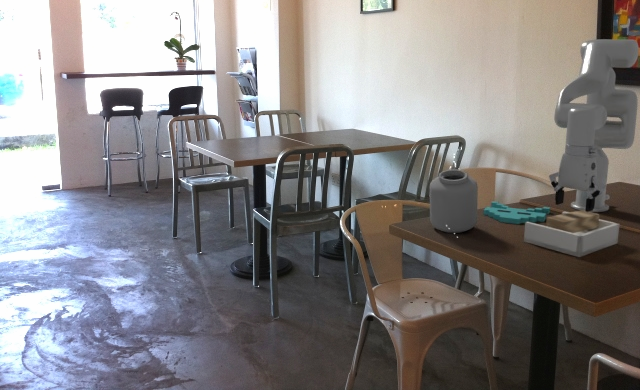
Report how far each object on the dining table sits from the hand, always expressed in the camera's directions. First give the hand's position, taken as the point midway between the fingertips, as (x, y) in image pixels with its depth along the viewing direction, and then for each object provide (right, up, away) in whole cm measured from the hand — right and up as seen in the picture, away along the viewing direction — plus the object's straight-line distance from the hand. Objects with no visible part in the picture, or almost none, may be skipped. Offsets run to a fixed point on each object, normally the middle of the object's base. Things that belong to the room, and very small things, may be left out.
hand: (573, 207), depth 187 cm
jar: (-33, -8, +15) cm, 37 cm away
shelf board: (0, -6, +1) cm, 6 cm away
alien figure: (-8, -4, +31) cm, 33 cm away
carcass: (0, -11, +2) cm, 11 cm away
